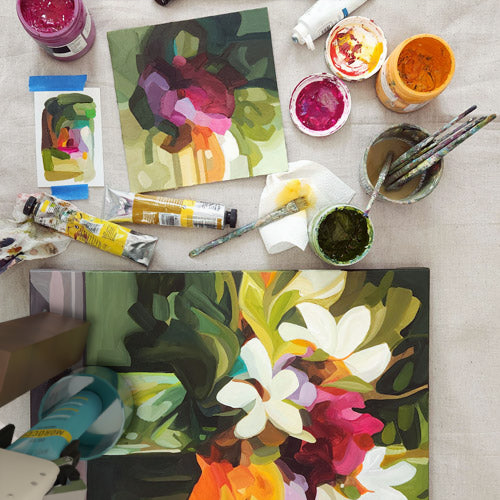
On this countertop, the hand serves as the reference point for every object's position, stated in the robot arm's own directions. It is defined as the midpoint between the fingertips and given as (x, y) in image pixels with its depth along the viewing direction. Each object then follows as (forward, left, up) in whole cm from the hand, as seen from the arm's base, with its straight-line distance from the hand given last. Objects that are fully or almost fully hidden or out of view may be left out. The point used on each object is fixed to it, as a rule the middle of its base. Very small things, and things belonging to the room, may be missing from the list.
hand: (41, 444), depth 53 cm
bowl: (+1, 0, -16) cm, 16 cm away
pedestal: (-6, +9, -16) cm, 19 cm away
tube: (0, 0, -14) cm, 14 cm away
